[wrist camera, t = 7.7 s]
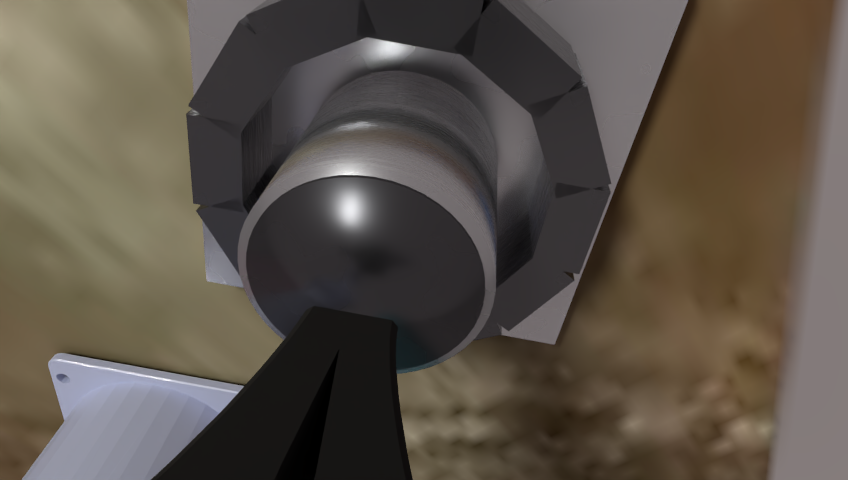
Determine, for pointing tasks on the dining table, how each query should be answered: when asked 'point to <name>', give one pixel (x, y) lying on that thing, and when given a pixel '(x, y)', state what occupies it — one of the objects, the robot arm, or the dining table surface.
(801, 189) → the dining table surface
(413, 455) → the dining table surface
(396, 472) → the robot arm
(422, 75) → the dark grey round knob
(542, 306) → the barrel stand
